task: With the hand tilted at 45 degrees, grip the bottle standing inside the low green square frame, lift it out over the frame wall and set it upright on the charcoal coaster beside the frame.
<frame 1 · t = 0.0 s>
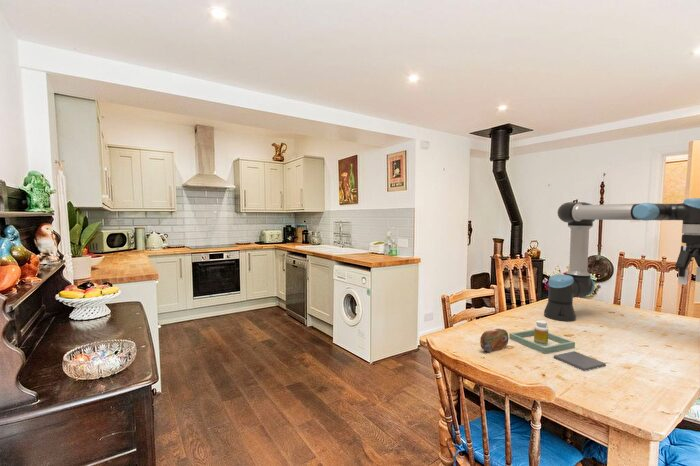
hand: (691, 283, 143), 28 cm above the table, tool pointing down, fingers open, 13 cm apart
supplement bottle: (540, 343, 147), resting in green square frame
coaster: (578, 361, 129), on the table
green square frame: (540, 343, 147), on the table
brown mottled stone: (493, 349, 140), on the table
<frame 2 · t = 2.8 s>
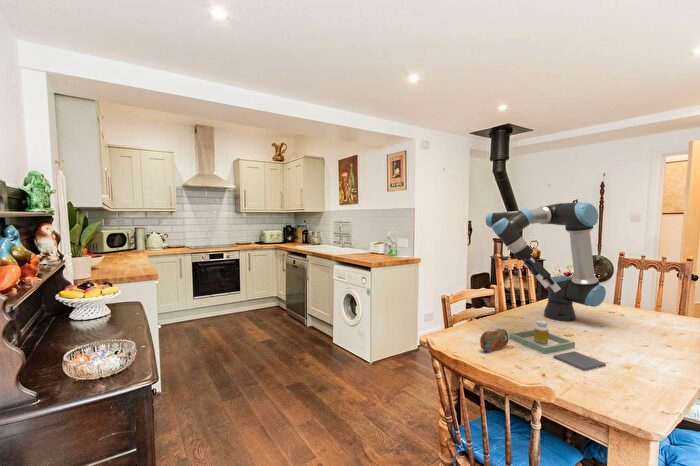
hand: (552, 288, 143), 25 cm above the table, tool tilted 40°, fingers open, 13 cm apart
nothing on the table moved.
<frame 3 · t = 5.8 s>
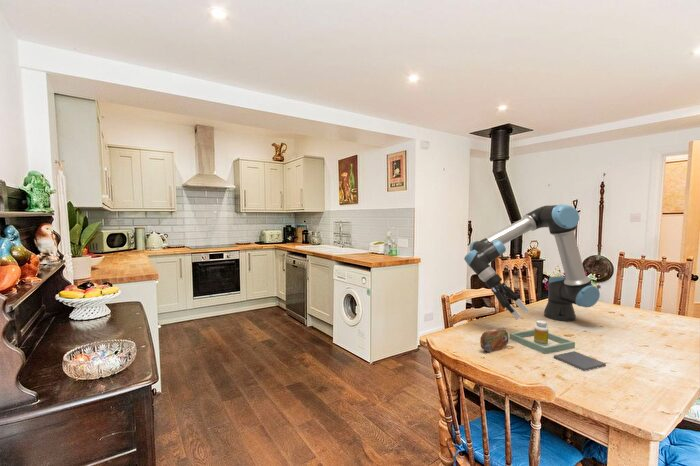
hand: (523, 314, 151), 12 cm above the table, tool tilted 45°, fingers open, 13 cm apart
nothing on the table moved.
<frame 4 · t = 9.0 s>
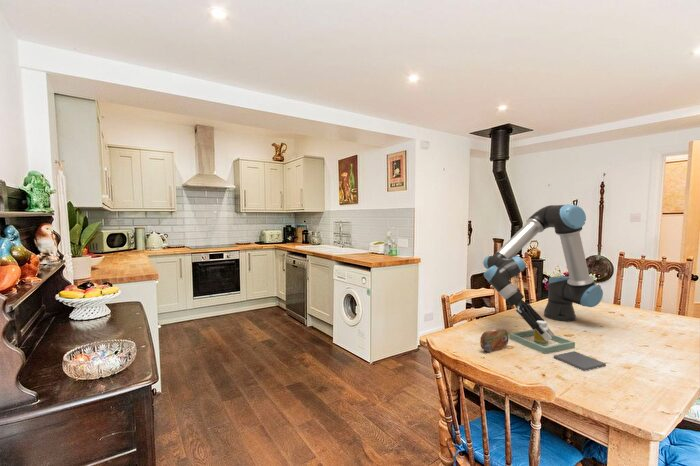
hand: (550, 337, 145), 3 cm above the table, tool tilted 45°, fingers closed on supplement bottle, 5 cm apart
supplement bottle: (540, 343, 147), resting in green square frame, touching gripper
everything else where it was.
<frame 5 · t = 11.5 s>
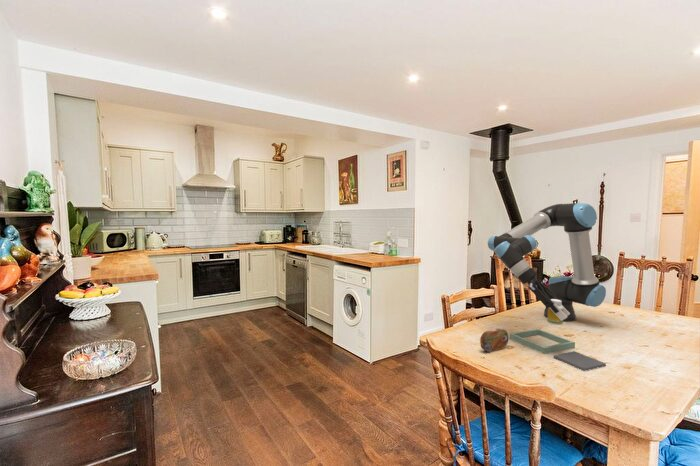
hand: (565, 317, 134), 16 cm above the table, tool tilted 45°, fingers closed on supplement bottle, 5 cm apart
supplement bottle: (554, 323, 137), point 12 cm above the table, touching gripper
everything else where it was.
when the fingers open (6 cm above the table, at t = 14.2 s): supplement bottle drops 1 cm, resting on coaster.
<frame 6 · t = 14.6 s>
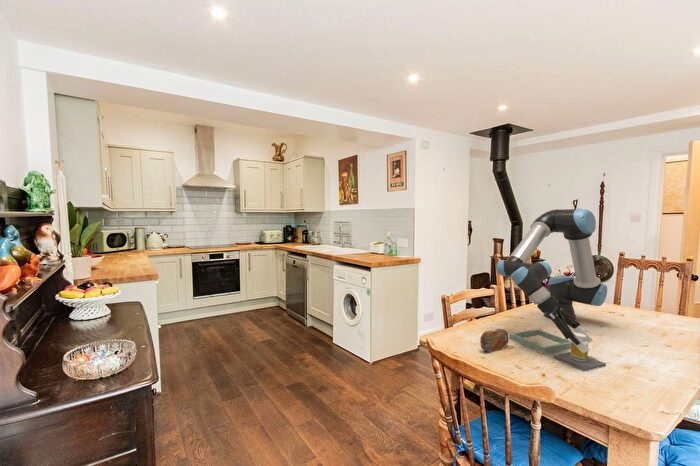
hand: (588, 346, 126), 7 cm above the table, tool tilted 45°, fingers open, 11 cm apart
supplement bottle: (578, 359, 129), point 1 cm above the table, touching coaster
everything else where it was.
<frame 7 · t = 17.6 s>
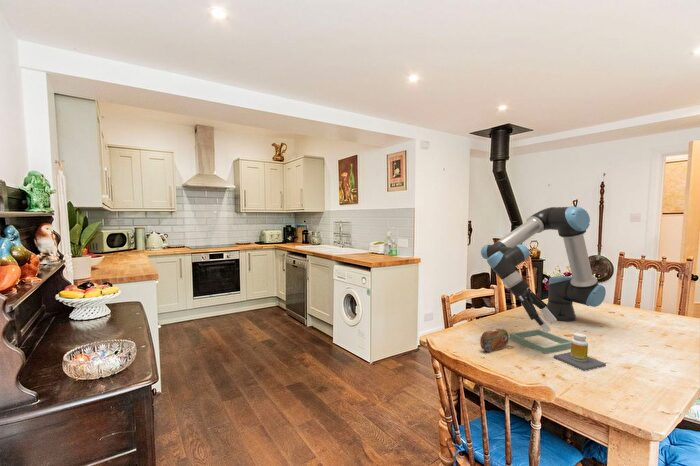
hand: (551, 326, 137), 11 cm above the table, tool tilted 40°, fingers open, 13 cm apart
nothing on the table moved.
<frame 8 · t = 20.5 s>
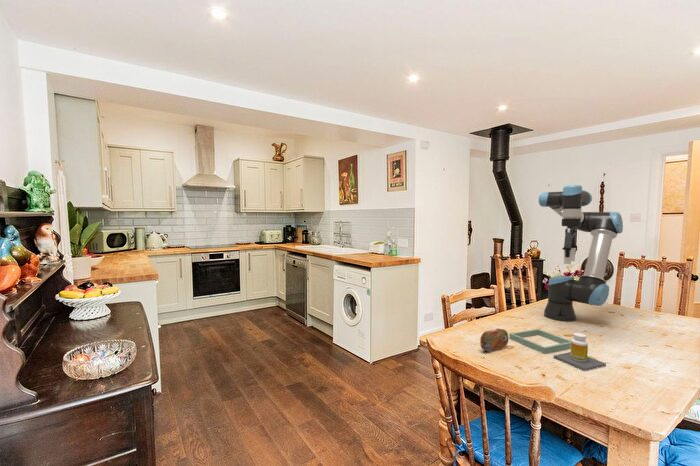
hand: (569, 262, 157), 35 cm above the table, tool pointing down, fingers open, 13 cm apart
nothing on the table moved.
at the end: supplement bottle inside the target area on the coaster (0.1 cm from its centre), point 0.8 cm above the coaster's base; supplement bottle tilted 0°; the gripper is holding nothing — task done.
